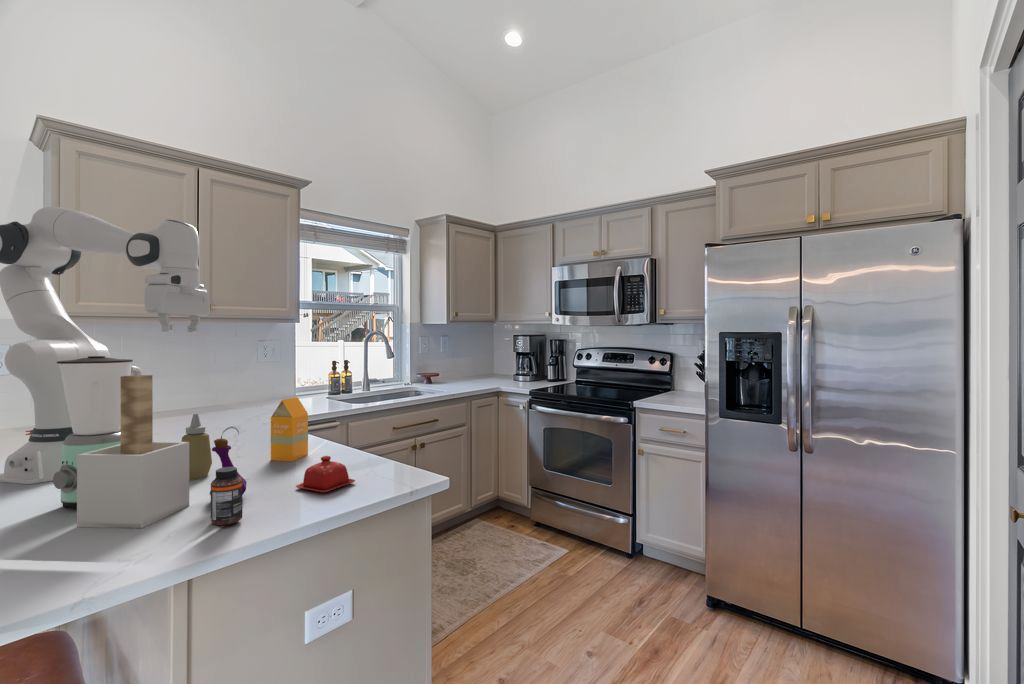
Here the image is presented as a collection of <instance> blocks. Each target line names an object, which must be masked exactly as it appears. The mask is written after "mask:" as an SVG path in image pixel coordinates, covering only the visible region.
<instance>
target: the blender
mask: <svg viewBox="0 0 1024 684" xmlns="http://www.w3.org/2000/svg"><path fill="white" fill-rule="evenodd" d="M105 357H106V356H88V358H81V359H75V360H66V361H58V362H57V364H58V365H59V368H60V371H61V376H62V382H63V387H64V392H65V397H66V402H67V407H68V412H69V417H70V421H71V426H72V430H73V434H70V435H69V436H68V437H66V439H65V440H64V442H63V444H62V449H61V468H60V471H58V472H56V473H55V474H54V476H53V481H52V483H53V485H54V488H56V489H57V490H60V502H61V504H62V508H77V455H79V454H83V453H87V452H91V451H95V450H99V449H103V448H107V447H111V446H115V445H119V444H121V376H131V375H144V373H143V370H142V368H140V367H138V366H135V365H133V362H134V360H133V359H126V358H113V357H110V358H105Z"/></svg>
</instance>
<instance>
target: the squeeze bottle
mask: <svg viewBox="0 0 1024 684" xmlns="http://www.w3.org/2000/svg"><path fill="white" fill-rule="evenodd" d="M190 421H191V422H190V426H186V428H185V435H182V437H181V441H180V442H189V481H190V480H192V481H193V480H200V479H203V478H207V477H208V476H209V473H210V470H211V467H212V465H213V459H212V448H211V441H210V434H208V433H207V432H206V425H202V424H201V421H200V416H199V413H193V414H192V419H191V420H190Z"/></svg>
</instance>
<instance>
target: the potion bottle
mask: <svg viewBox="0 0 1024 684" xmlns="http://www.w3.org/2000/svg"><path fill="white" fill-rule="evenodd" d="M230 429H235V430H236V432H237V434H238V435H240V431H239V429H238V428H237V427H235V426H233V425H232V426H228V427H227V428H225V429H224V430H223V432H222V433H221V436H220V438H216V439H215V440H213V443H214V447H212V448H211V452H215V454H216V455H217V456H218V457H219V459H220V463H221V468H223V467H235V466H234V464H233V462H232V460H231V458H230V456H229V451H230V450H231V449H232V446H231V445H228V444H229V441H228V439H227V438H223V435H224V433H225V432H226V431H228V430H230ZM237 475H238V477H240V478H241V479H242V496H244V494H245V493H246V491H247V480H246V479H245V478H243V476H242V475H241V474H240V473H239V472H238V471H237ZM209 495H210V496H211V490H210V491H209Z"/></svg>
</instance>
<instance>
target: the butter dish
mask: <svg viewBox="0 0 1024 684" xmlns="http://www.w3.org/2000/svg"><path fill="white" fill-rule="evenodd" d="M331 458H332V457H331V456H330V455H323V456H322V457H320V460H321V462H317V463H315V464H312V465H311V466H309V467H307V468H306V469H305V470H304V476H303V482H301V483H300V484H297V485H295V488H297V489H303V490H308V491H313V492H318V493H323V492H324V493H323V494H325V492H326V493H329V492H331V490H332V491H334V489H335V490H337V489H340V488H342V486H343V487H345V486H347V485H350V484H352V483H354V482H356V480H355V479H353V478H350V477H349V473H348V469H347V467H346V465H345V464H343V463H341V462H338V461H331ZM339 487H340V488H339ZM336 488H337V489H336ZM328 491H329V492H328Z"/></svg>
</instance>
